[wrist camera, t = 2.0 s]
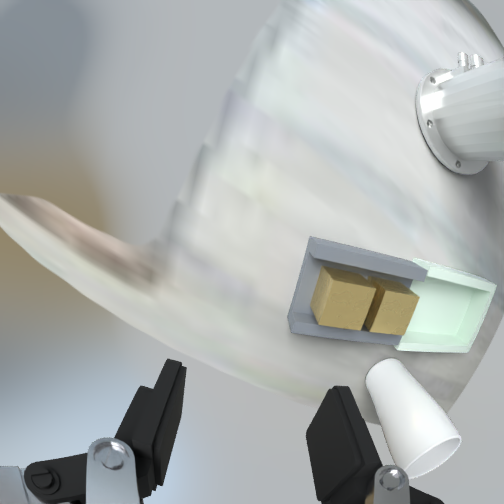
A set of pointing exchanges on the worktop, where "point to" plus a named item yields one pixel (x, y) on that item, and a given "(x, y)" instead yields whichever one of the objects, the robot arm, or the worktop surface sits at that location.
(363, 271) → the slot board
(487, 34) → the worktop surface
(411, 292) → the tan cube
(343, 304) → the gold cube
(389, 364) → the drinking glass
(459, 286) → the tray
